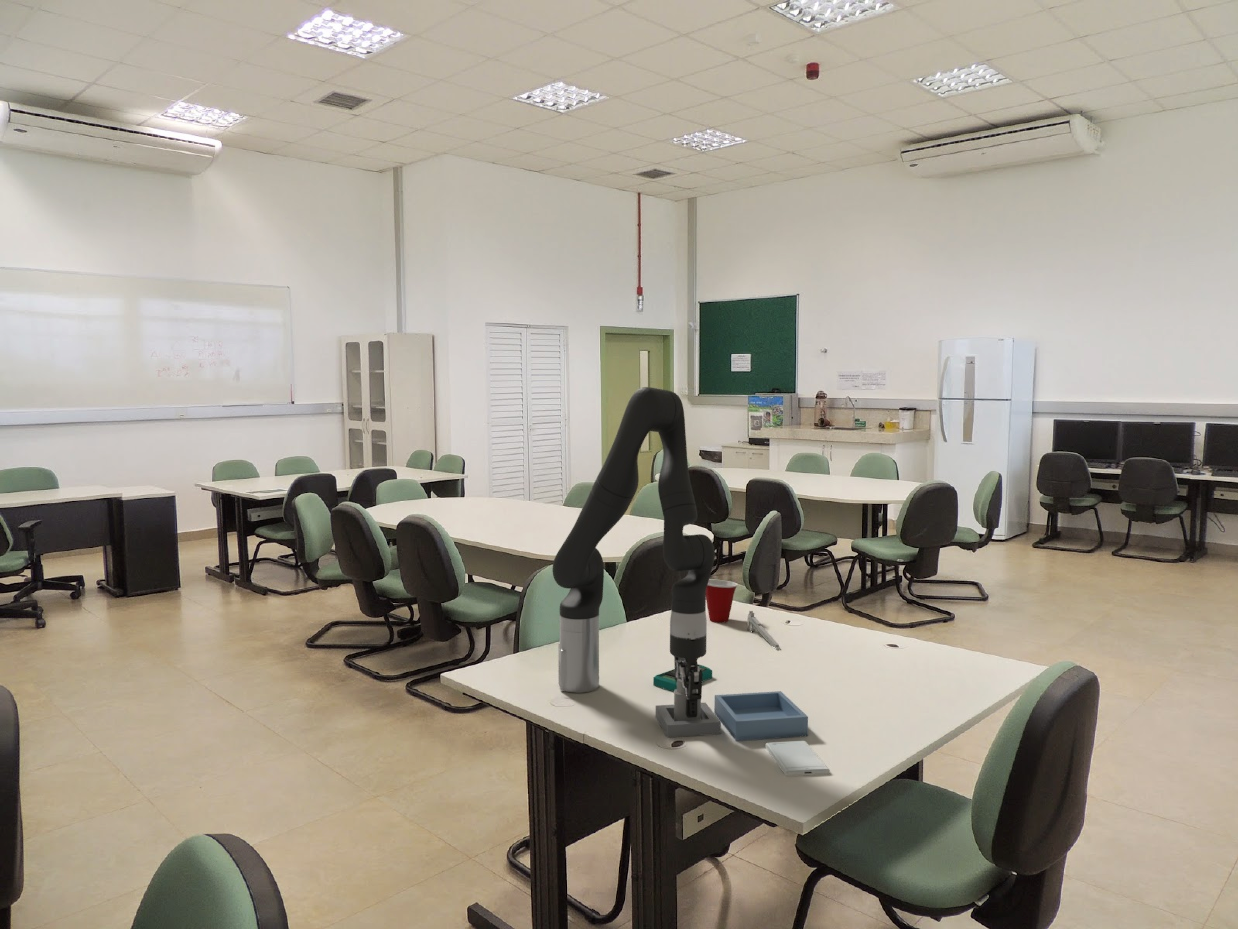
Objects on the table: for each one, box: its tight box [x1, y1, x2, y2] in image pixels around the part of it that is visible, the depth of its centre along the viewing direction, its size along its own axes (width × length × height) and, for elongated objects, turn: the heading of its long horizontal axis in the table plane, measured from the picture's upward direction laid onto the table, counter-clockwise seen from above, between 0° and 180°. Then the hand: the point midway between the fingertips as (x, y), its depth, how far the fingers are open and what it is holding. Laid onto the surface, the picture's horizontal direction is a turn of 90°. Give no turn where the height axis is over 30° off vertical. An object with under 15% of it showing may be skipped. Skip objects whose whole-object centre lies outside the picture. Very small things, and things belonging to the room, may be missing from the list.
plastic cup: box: [706, 578, 739, 623], centre depth 258 cm, size 11×11×12 cm
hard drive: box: [765, 740, 831, 777], centre depth 159 cm, size 2×8×12 cm
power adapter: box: [673, 679, 702, 721], centre depth 176 cm, size 3×5×12 cm, turn 90°
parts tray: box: [713, 690, 809, 742], centre depth 177 cm, size 15×15×4 cm
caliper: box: [746, 610, 781, 651], centre depth 238 cm, size 20×1×6 cm, turn 15°
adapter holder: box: [655, 702, 722, 738], centre depth 176 cm, size 11×11×2 cm
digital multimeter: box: [653, 664, 713, 692], centre depth 203 cm, size 7×15×3 cm, turn 137°
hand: (687, 710), depth 176 cm, fingers open, 6 cm apart
